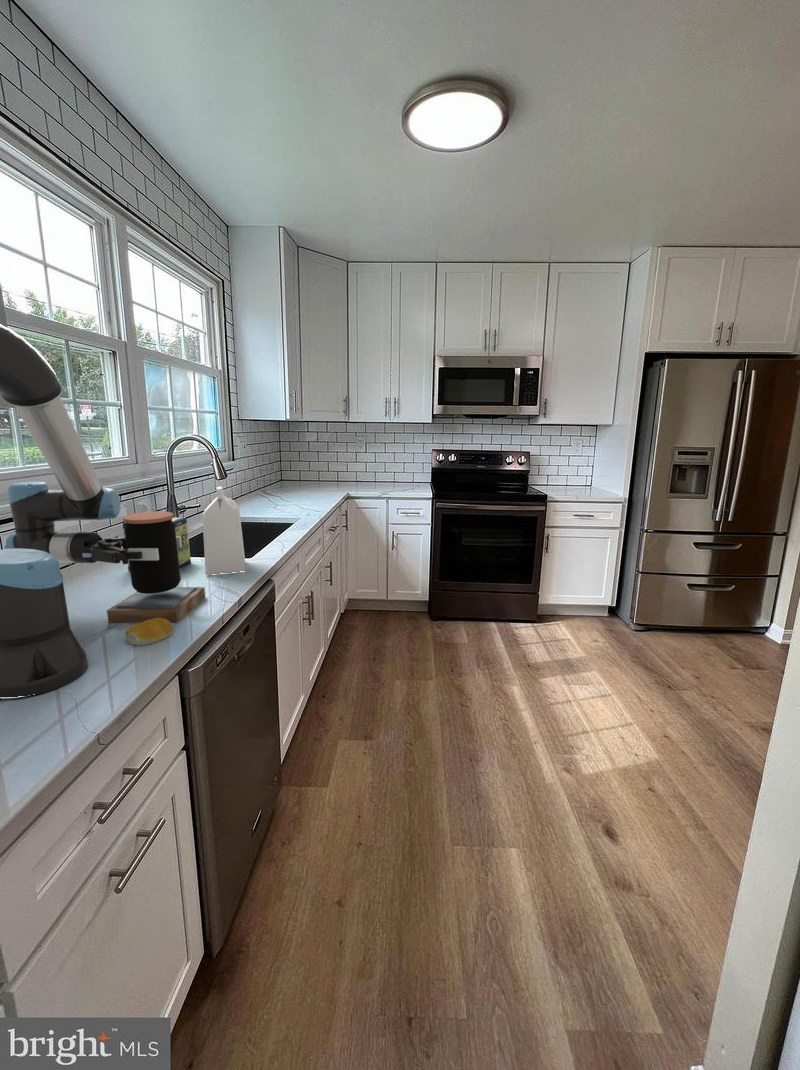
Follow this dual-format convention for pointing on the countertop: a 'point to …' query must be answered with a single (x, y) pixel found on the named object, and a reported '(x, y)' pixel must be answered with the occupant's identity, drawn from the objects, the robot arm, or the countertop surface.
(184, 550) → the protein box
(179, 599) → the plinth
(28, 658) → the robot arm
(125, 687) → the countertop surface
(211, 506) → the milk
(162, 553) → the coffee jar
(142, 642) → the bread roll
